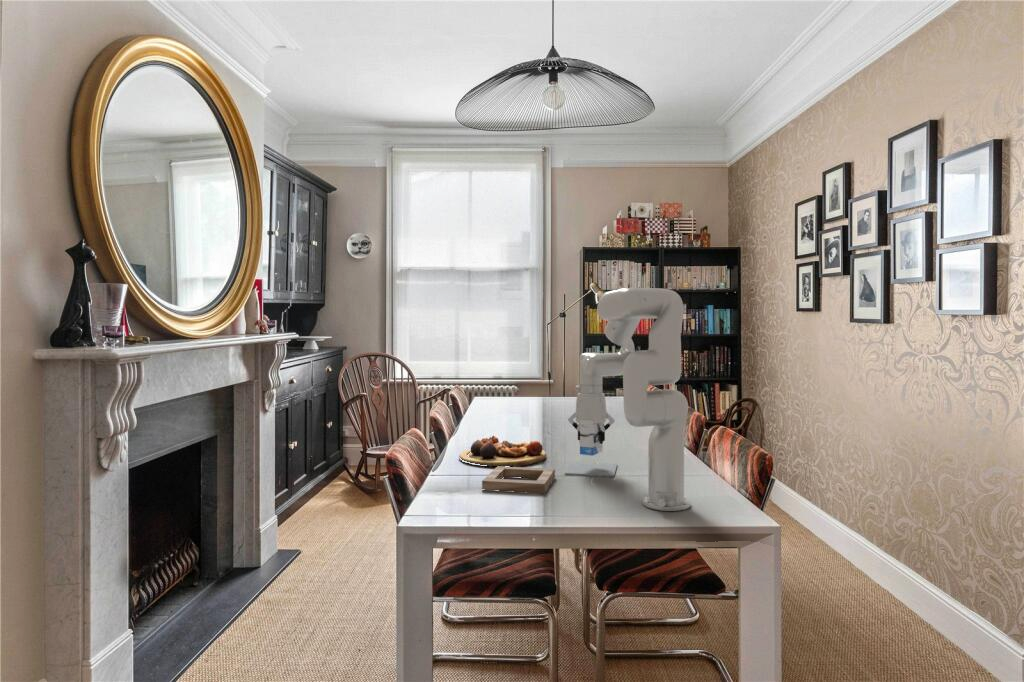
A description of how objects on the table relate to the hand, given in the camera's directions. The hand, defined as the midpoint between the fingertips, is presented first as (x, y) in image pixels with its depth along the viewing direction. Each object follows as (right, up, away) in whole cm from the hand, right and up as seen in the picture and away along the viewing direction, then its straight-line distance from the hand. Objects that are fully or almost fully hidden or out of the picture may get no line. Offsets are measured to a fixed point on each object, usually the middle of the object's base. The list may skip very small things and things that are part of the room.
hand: (591, 442), depth 215 cm
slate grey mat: (0, -9, 0) cm, 9 cm away
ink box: (0, -4, 0) cm, 4 cm away
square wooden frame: (-24, -10, -17) cm, 31 cm away
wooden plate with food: (-30, -10, +20) cm, 38 cm away
